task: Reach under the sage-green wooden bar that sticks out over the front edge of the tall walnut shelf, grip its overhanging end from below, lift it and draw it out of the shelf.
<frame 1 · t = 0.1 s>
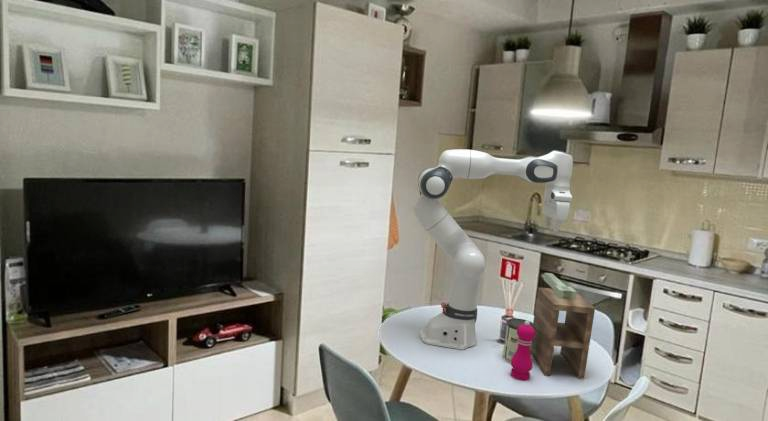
hand: (551, 229, 198), 48 cm above the table, tool pointing down, fingers open, 8 cm apart
green bar: (556, 288, 196), point 26 cm above the table, touching walnut shelf
coffee can: (516, 359, 192), on the table
walnut shelf: (555, 364, 190), on the table
pepper mill: (519, 376, 179), on the table
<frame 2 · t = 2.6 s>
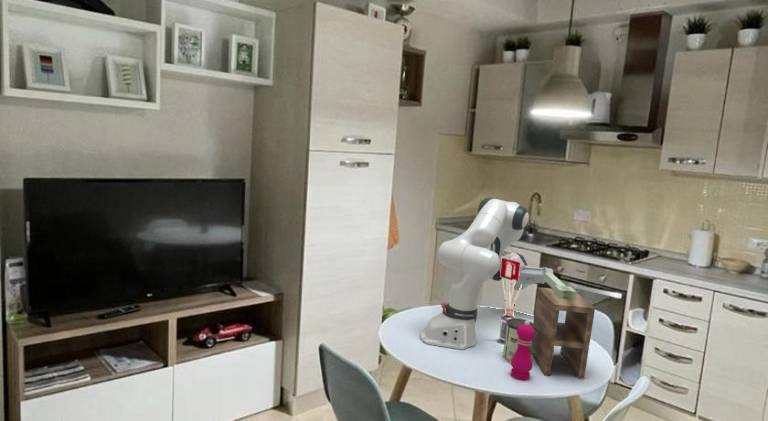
hand: (534, 267, 227), 26 cm above the table, tool pointing upward, fingers open, 8 cm apart
nothing on the table moved.
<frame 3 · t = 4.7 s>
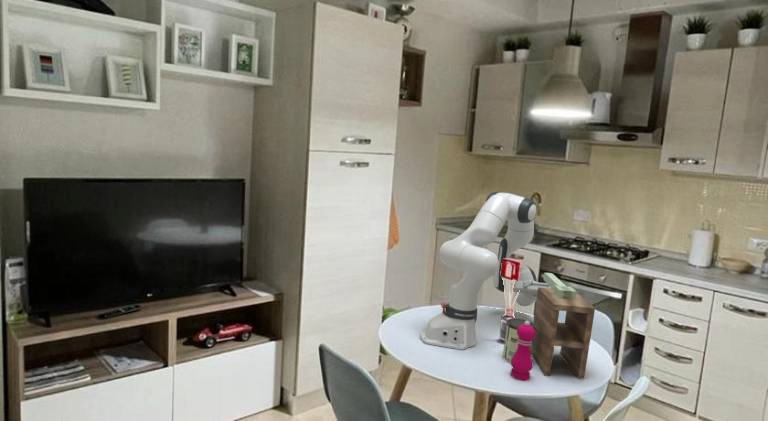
hand: (542, 283, 213), 23 cm above the table, tool pointing upward, fingers open, 8 cm apart
nothing on the table moved.
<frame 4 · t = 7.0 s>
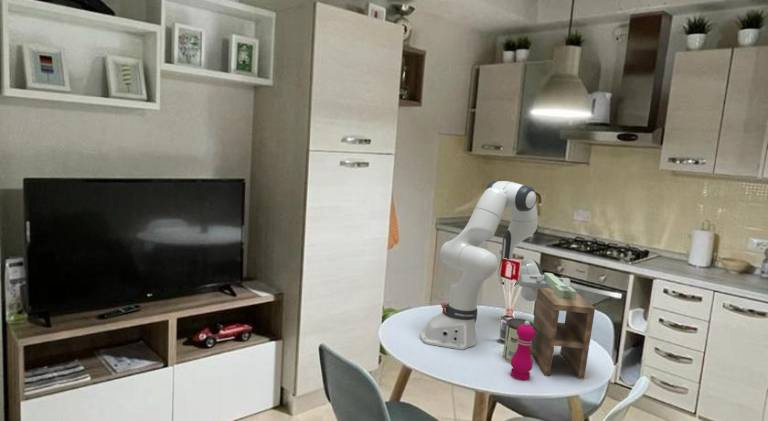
hand: (550, 277, 205), 28 cm above the table, tool pointing upward, fingers closed on green bar, 3 cm apart
green bar: (556, 288, 196), point 26 cm above the table, touching gripper, walnut shelf
everything else where it was.
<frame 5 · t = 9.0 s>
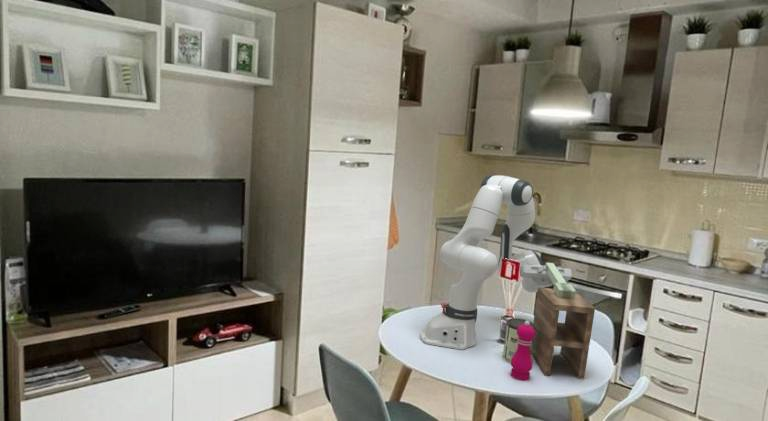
hand: (551, 267, 204), 32 cm above the table, tool pointing upward, fingers closed on green bar, 3 cm apart
green bar: (556, 283, 197), point 28 cm above the table, tilted 10°, touching gripper
everything else where it was.
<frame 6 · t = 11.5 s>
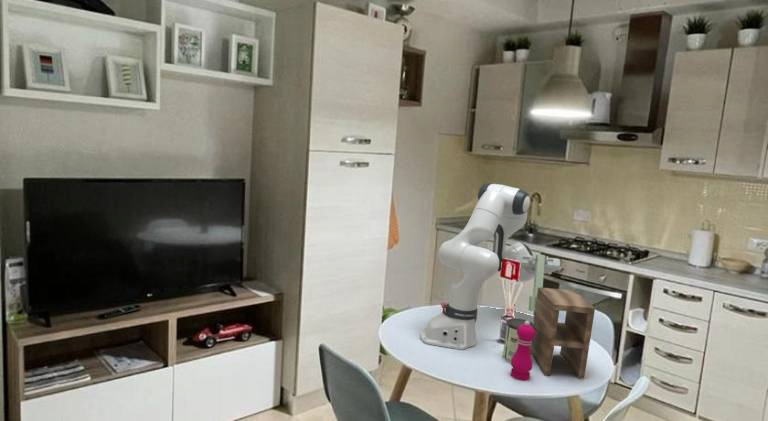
hand: (541, 257, 219), 33 cm above the table, tool pointing upward, fingers closed on green bar, 3 cm apart
green bar: (537, 282, 221), point 21 cm above the table, tilted 77°, touching gripper
everything else where it was.
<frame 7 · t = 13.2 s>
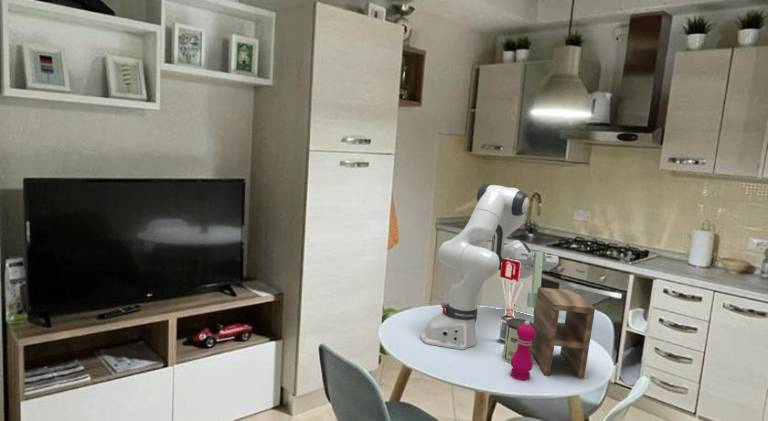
hand: (539, 254, 221), 33 cm above the table, tool pointing upward, fingers closed on green bar, 3 cm apart
green bar: (535, 279, 224), point 22 cm above the table, tilted 77°, touching gripper
everything else where it was.
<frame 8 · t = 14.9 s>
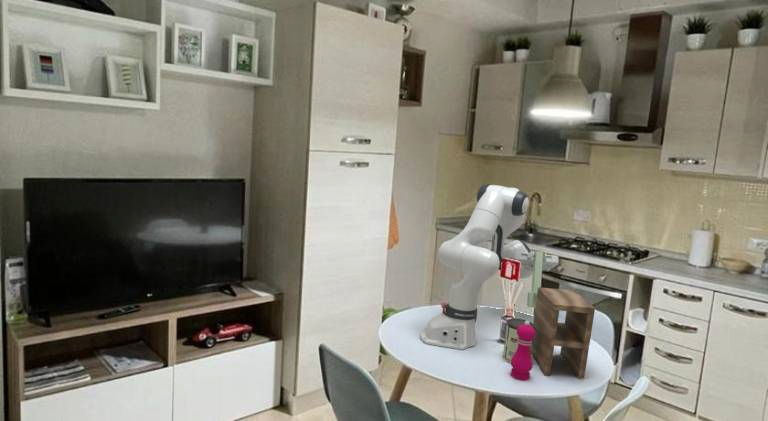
hand: (539, 254, 221), 33 cm above the table, tool pointing upward, fingers closed on green bar, 3 cm apart
green bar: (535, 278, 224), point 22 cm above the table, tilted 77°, touching gripper
everything else where it was.
at the end: the gripper is holding green bar; green bar touching gripper; green bar moved 27.3 cm from its start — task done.
